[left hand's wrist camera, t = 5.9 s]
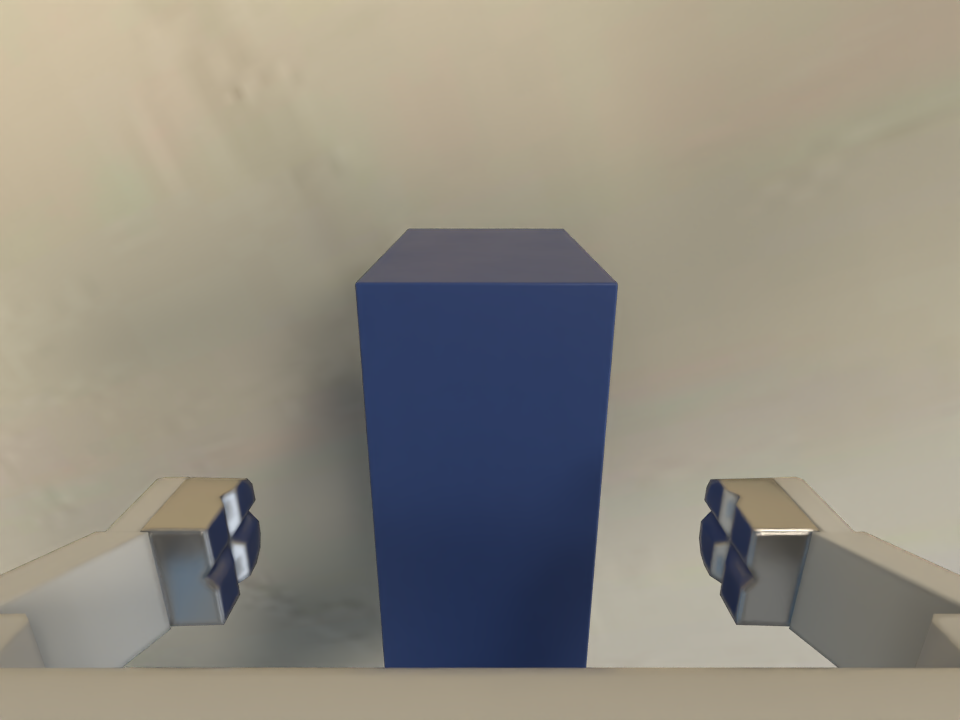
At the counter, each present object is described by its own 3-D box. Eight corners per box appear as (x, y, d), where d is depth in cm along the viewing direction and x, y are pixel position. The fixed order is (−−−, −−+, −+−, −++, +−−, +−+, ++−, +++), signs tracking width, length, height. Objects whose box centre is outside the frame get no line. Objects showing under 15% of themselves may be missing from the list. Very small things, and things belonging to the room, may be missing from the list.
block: (407, 228, 20) (354, 282, 12) (564, 228, 20) (618, 282, 12) (428, 712, 28) (405, 944, 20) (540, 713, 28) (563, 946, 20)
